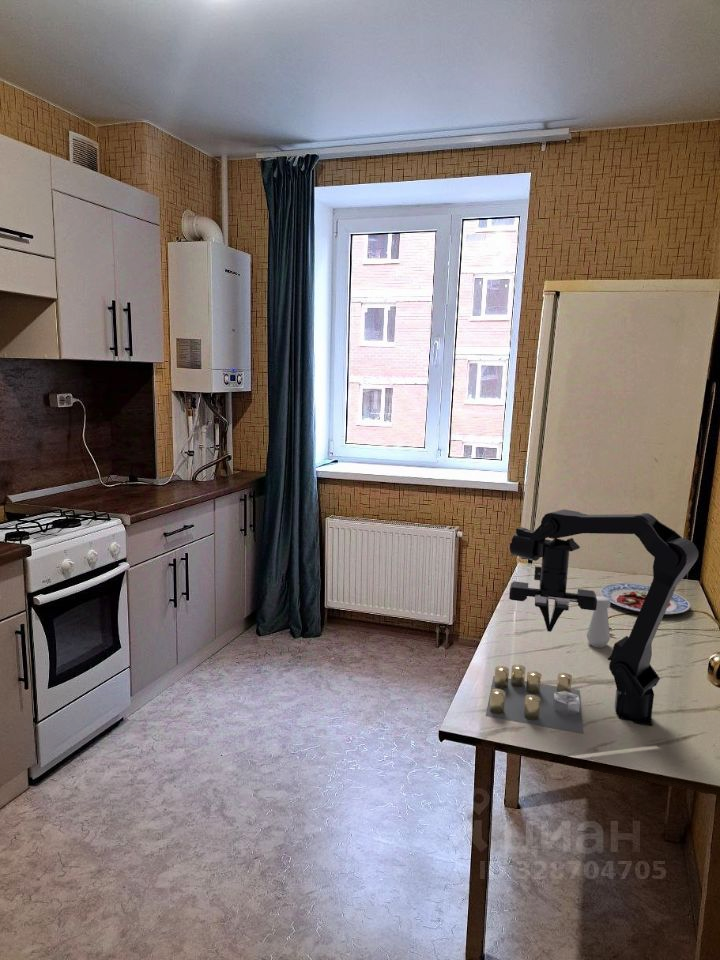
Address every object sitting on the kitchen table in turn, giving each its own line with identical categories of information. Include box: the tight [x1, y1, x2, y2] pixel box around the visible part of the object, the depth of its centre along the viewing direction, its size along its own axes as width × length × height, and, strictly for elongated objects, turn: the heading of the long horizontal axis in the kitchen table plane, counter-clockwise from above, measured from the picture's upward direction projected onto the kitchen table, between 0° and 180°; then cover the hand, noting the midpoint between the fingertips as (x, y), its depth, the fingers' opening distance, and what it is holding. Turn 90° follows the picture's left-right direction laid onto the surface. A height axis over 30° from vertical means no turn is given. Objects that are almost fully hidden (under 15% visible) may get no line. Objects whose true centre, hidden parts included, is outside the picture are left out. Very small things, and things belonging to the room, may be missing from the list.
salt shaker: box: [586, 595, 611, 649], centre depth 164 cm, size 6×6×13 cm
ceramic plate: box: [599, 583, 691, 615], centre depth 196 cm, size 26×26×3 cm
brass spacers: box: [489, 664, 573, 720], centre depth 134 cm, size 16×16×4 cm
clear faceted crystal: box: [553, 691, 580, 715], centre depth 132 cm, size 6×5×2 cm
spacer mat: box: [485, 675, 584, 735], centre depth 134 cm, size 19×18×1 cm
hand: (549, 630), depth 143 cm, fingers closed
